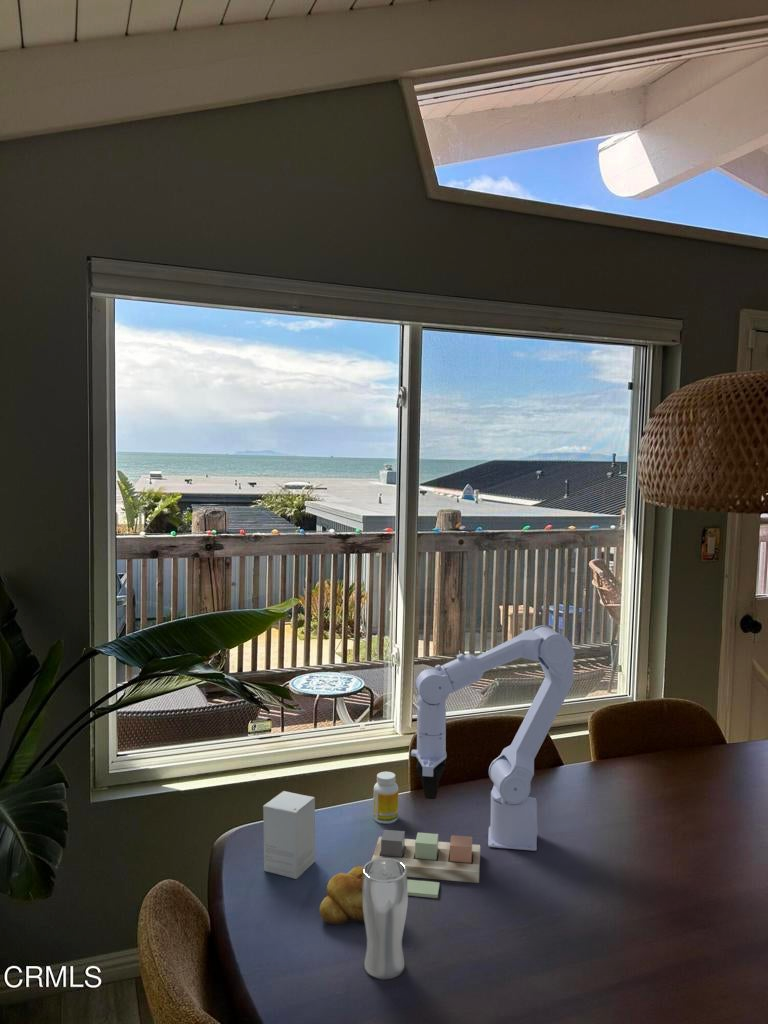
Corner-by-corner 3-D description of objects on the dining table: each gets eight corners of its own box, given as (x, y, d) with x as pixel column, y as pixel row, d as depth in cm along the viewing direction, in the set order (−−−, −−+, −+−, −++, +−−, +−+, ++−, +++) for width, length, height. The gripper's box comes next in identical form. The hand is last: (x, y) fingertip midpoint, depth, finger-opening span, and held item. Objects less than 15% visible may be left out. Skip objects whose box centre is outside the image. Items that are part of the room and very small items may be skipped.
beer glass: (360, 952, 113) (360, 857, 112) (404, 950, 114) (405, 856, 113) (362, 983, 106) (362, 882, 105) (410, 980, 107) (410, 880, 106)
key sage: (438, 849, 141) (438, 834, 140) (436, 860, 137) (436, 844, 136) (417, 847, 141) (417, 832, 141) (415, 858, 137) (415, 842, 137)
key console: (480, 854, 142) (480, 845, 142) (478, 883, 132) (479, 872, 132) (379, 846, 145) (379, 836, 145) (370, 873, 136) (370, 862, 135)
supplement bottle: (368, 817, 158) (368, 774, 157) (387, 810, 161) (387, 767, 161) (384, 827, 154) (384, 782, 153) (403, 819, 157) (403, 775, 156)
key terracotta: (472, 852, 140) (472, 836, 139) (471, 863, 136) (471, 847, 135) (451, 850, 140) (451, 835, 140) (449, 861, 136) (449, 845, 136)
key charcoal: (404, 846, 142) (404, 831, 141) (401, 857, 138) (402, 841, 137) (384, 844, 142) (384, 829, 142) (381, 855, 138) (381, 839, 138)
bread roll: (326, 938, 117) (326, 889, 116) (309, 905, 126) (309, 859, 125) (400, 920, 122) (400, 873, 121) (378, 889, 130) (379, 845, 130)
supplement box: (316, 861, 140) (316, 796, 139) (296, 880, 133) (296, 812, 132) (283, 852, 143) (283, 789, 142) (262, 871, 136) (262, 804, 136)
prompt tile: (439, 885, 132) (439, 882, 132) (437, 898, 128) (437, 894, 128) (406, 882, 132) (406, 879, 132) (403, 895, 129) (403, 891, 129)
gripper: (415, 717, 153) (415, 781, 154) (407, 742, 139) (406, 812, 140) (449, 719, 152) (448, 783, 153) (443, 744, 138) (443, 815, 139)
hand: (430, 797), depth 146 cm, fingers closed
